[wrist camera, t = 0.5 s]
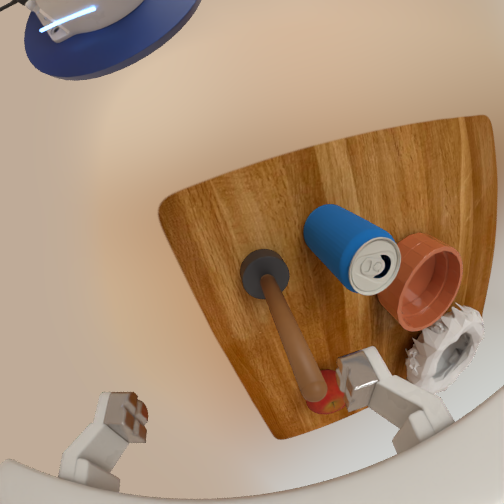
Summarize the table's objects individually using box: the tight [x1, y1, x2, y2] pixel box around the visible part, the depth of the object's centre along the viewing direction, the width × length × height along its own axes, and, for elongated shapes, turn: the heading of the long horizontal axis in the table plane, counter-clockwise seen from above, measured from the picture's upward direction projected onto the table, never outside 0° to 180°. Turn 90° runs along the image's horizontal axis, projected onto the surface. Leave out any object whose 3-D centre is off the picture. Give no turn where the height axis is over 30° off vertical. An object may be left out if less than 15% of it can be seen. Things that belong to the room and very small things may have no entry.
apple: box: [306, 369, 345, 414], centre depth 40 cm, size 8×8×8 cm
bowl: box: [405, 303, 484, 394], centre depth 41 cm, size 21×20×10 cm
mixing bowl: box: [377, 233, 463, 332], centre depth 35 cm, size 14×14×6 cm
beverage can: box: [304, 204, 401, 295], centre depth 28 cm, size 6×6×12 cm
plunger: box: [240, 249, 327, 402], centre depth 25 cm, size 6×6×20 cm
